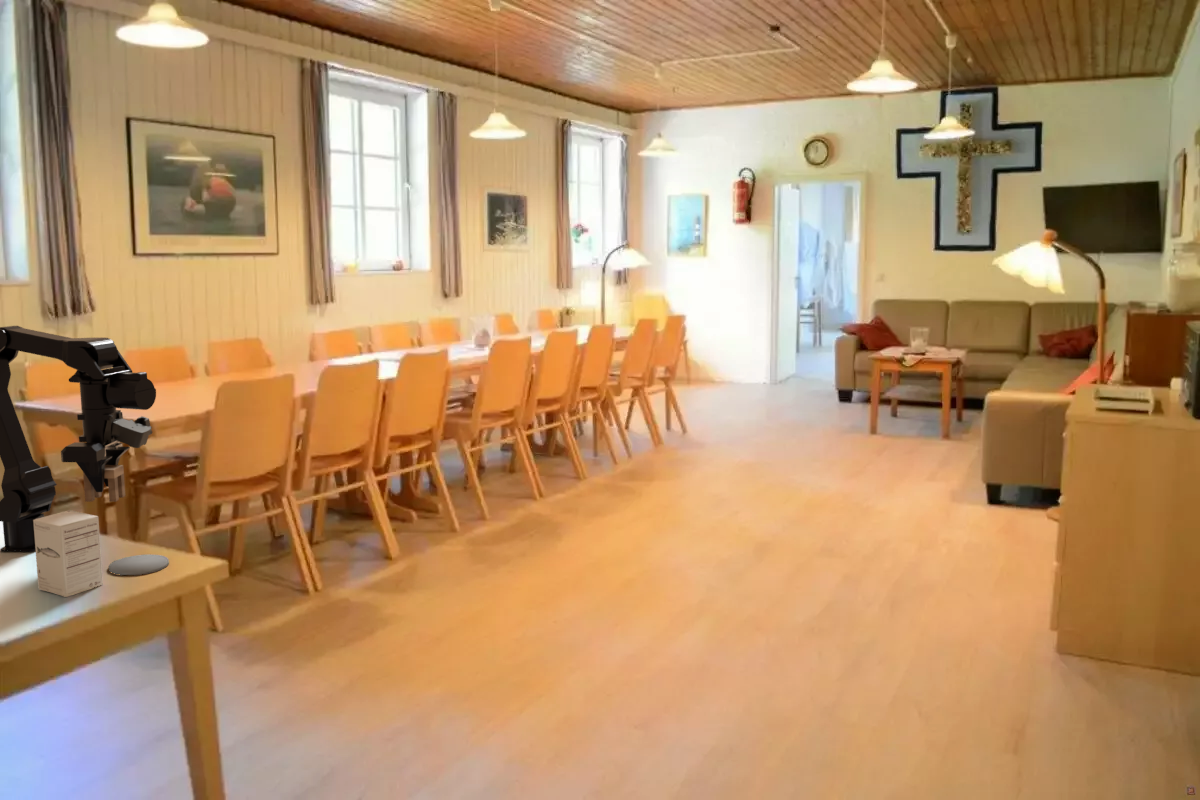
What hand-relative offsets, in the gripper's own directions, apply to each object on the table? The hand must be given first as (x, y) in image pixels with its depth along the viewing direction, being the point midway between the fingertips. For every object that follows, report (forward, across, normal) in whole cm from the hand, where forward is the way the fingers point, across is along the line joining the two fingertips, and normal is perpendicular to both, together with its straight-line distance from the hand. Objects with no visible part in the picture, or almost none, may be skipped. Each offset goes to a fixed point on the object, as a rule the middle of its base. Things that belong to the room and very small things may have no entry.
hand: (104, 489), depth 187 cm
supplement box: (+13, -17, -1) cm, 22 cm away
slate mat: (+13, -6, -8) cm, 16 cm away
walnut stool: (+2, 0, 0) cm, 2 cm away
